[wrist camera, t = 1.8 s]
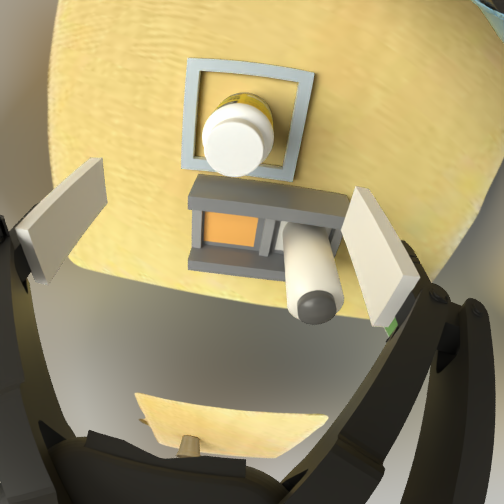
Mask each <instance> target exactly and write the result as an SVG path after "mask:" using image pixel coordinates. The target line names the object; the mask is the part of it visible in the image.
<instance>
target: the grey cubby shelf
mask: <svg viewBox="0 0 504 504" xmlns="http://www.w3.org/2000/svg"><path fill="white" fill-rule="evenodd" d="M349 205H350V202H349V200H348V198H347V196H346V195H343V194H337V193H332V192H326V191H321V190H315V189H309V188H303V187H296V186H290V185H283V184H276V183H269V182H262V181H255V180H247V179H239V178H231V177H222V176H213V175H203V174H198V176H197V178H196V180H195V182H194V185H193V187H192V189H191V191H190V193H189V195H188V209H189V210H192V248H191V251H190V255H189V258H188V270H193V271H201V272H209V273H217V274H225V275H233V276H241V277H250V278H258V279H267V280H276V281H285V282H286V278H285V264H284V251H283V238H282V232H283V228H284V226H285V225H286V224H287V222H293V223H300V224H307V225H314V226H321V227H325V228H326V232H327V235H328V239H329V242H330V246H331V249H332V253H333V257H334V258H335V255H336V252H337V250H338V247H339V244H340V242H341V239H342V236H343V235H342V232H341V228H342V226H343V223H344V220H345V217H346V214H347V211H348V208H349Z"/></svg>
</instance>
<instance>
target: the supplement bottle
mask: <svg viewBox="0 0 504 504" xmlns="http://www.w3.org/2000/svg"><path fill="white" fill-rule="evenodd" d="M202 141H203V146H204V154H205V157H206V160H207V162H208V163H209V165H210V166H211V167H212V168H213V169H214V170H215V171H217V172H218V173H220V174H222V175H225V176H229V177H240V176H244V175H247V174H249V173H251V172H252V171H254V170H255V169H256V168H257V167H258V166H259V164H261V163H262V162H263V161H264V160H265V159H266V158H267V157H268V155H269V154H270V152H271V149H272V146H273V142H274V129H273V118H272V113H271V110H270V108H269V106H268V105H267V103H266V102H265V101H264V100H263V99H261V98H260V97H258V96H256V95H254V94H250V93H237V94H234V95H231V96H229V97H228V98H226V99H225V100H224V101H223V102H222V103H221V104H220V105H219V106H218V107H217V108H216V109H215V111H214V112H213V113H212V114H211V115H210V117H209V118H208V120H207V121H206V123H205V126H204V128H203V133H202Z"/></svg>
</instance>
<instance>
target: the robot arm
mask: <svg viewBox="0 0 504 504" xmlns="http://www.w3.org/2000/svg"><path fill="white" fill-rule="evenodd" d="M471 1H472V2H473V3H474V4H476V5H477V6H478V7H479V8H480V10H481V11H482V13H483V14H484V15H485V17H486V18H487V20H488V21H489V23H490V24H491V26H492V27H493V29H494V31H495V32H496V34H497V35H498V37H499V38H500V40H501V41H502V42H503V43H504V0H471ZM106 204H107V195H106V187H105V179H104V169H103V158H89V159H88V160H87V161H86V162H85V163H83V164H82V165H81V166H80V167H79V168H77V169H76V170H75V171H74V172H73V173H71V174H70V175H69V176H68V177H67V178H66V179H65V180H63V181H62V182H61V183H60V184H59V185H58V186H57V187H56V188H55V189H53V191H51V192H50V193H49V194H48V195H47V196H46V197H45V198H44V199H43V200H42V201H41V202H39V203H37V204H36V205H34V206H33V207H32V209H30V211H29V212H28V213H26V214H25V215H24V218H22V219H21V220H20V221H19V222H18V223H17V224H16V225H15V226H14V227H13V228H12V229H11V230H10V231H8V229H7V225H6V223H5V219H4V216H2V215H0V482H1V483H0V504H365V503H366V502H367V500H368V499H369V498H370V496H371V495H372V493H373V492H374V490H375V489H376V487H377V485H378V484H379V482H380V481H381V479H382V477H383V475H384V471H385V468H384V466H383V462H384V459H385V458H386V456H387V454H388V452H389V451H390V449H391V447H392V445H393V444H394V442H395V440H396V438H397V436H398V435H399V433H400V431H401V429H402V427H403V425H404V423H405V421H406V419H407V417H408V415H409V413H410V411H411V409H412V407H413V405H414V403H415V401H416V398H417V396H418V394H419V392H420V389H421V387H422V385H423V382H424V380H425V378H426V375H427V373H428V370H429V368H430V376H429V384H428V392H427V398H426V404H425V410H424V416H423V421H422V426H421V431H420V435H419V440H418V444H417V449H416V452H415V456H414V461H413V464H412V467H411V471H410V475H409V478H408V481H407V484H406V487H405V490H404V494H403V496H402V499H401V503H400V504H484V503H485V498H486V494H487V488H488V483H489V477H490V471H491V463H492V455H493V445H494V432H495V370H494V356H493V346H492V338H491V329H490V322H489V316H488V313H487V310H486V309H485V307H484V305H483V304H482V303H481V302H479V301H477V300H476V299H473V298H468V299H467V300H466V301H465V303H464V304H463V305H462V306H461V305H458V304H455V303H453V302H451V300H450V297H449V295H448V294H447V292H446V291H445V290H444V289H443V288H441V287H440V286H438V285H436V284H433V283H431V282H430V280H429V278H428V276H427V274H426V272H425V270H424V269H423V267H422V265H421V264H420V261H419V260H418V258H416V257H417V256H416V254H415V252H414V251H413V249H412V248H411V247H410V246H409V245H408V244H407V243H406V242H405V241H403V240H400V239H399V237H398V235H397V233H396V232H395V230H394V228H393V227H392V225H391V223H390V222H389V220H388V218H387V217H386V215H385V213H384V212H383V210H382V209H381V207H380V205H379V204H378V202H377V201H376V199H375V198H374V196H373V194H372V193H371V191H370V190H369V189H367V188H363V187H358V186H355V189H354V192H353V196H352V199H351V202H350V205H349V208H348V211H347V214H346V217H345V220H344V223H343V226H342V228H341V232H342V235H343V237H344V240H345V243H346V246H347V249H348V251H349V254H350V257H351V260H352V263H353V266H354V269H355V272H356V275H357V278H358V281H359V284H360V288H361V291H362V294H363V297H364V300H365V304H366V307H367V310H368V314H369V317H370V321H371V324H372V326H373V327H389V325H390V324H391V322H392V321H393V320H394V318H396V321H397V324H398V325H397V327H396V328H395V330H394V331H393V332H392V334H391V335H390V336H389V338H388V339H387V341H386V342H387V343H386V345H385V347H384V349H383V350H382V352H381V354H380V355H379V357H378V359H377V360H376V362H375V364H374V365H373V367H372V368H371V370H370V371H369V373H368V375H367V376H366V377H365V379H364V381H363V382H362V384H361V385H360V387H359V388H358V389H357V391H356V392H355V394H354V395H353V397H352V398H351V400H350V401H349V402H348V404H347V405H346V407H345V408H344V409H343V411H342V412H341V413H340V415H339V416H338V417H337V419H336V420H335V422H334V423H333V424H332V425H331V427H330V428H329V429H328V431H327V432H326V433H325V434H324V436H323V437H322V438H321V439H320V441H319V442H318V443H317V444H316V445H315V447H314V448H313V449H312V450H311V451H310V453H309V454H308V455H307V456H306V457H305V458H304V459H303V460H302V461H301V462H300V463H299V464H298V465H297V466H296V467H295V468H294V469H293V470H292V471H291V472H290V473H289V474H288V475H287V476H286V477H285V478H284V479H283V480H282V481H281V482H280V483H279V482H278V481H277V480H275V479H274V478H273V477H271V476H270V475H268V474H266V473H264V472H262V471H260V470H257V469H255V468H252V467H248V466H246V459H231V458H220V457H211V456H198V457H186V458H171V459H163V458H159V457H156V456H154V455H152V454H150V453H148V452H146V451H144V450H142V449H140V448H138V447H136V446H134V445H132V444H130V443H128V442H126V441H124V440H121V439H118V438H114V437H110V436H107V435H103V434H100V433H97V432H94V431H91V430H89V431H88V435H87V437H76V436H75V434H74V433H73V431H72V429H71V428H70V426H69V425H68V424H67V422H66V420H65V418H64V416H63V414H62V411H61V408H60V405H59V403H58V400H57V397H56V394H55V391H54V388H53V385H52V382H51V379H50V375H49V372H48V369H47V365H46V361H45V358H44V354H43V350H42V346H41V342H40V338H39V334H38V329H37V324H36V319H35V314H34V309H33V303H32V296H31V290H30V283H29V281H28V279H27V277H28V275H29V274H30V272H31V273H32V275H33V277H34V280H35V282H37V283H41V284H46V285H49V283H50V282H51V280H52V279H53V277H54V276H55V274H56V273H57V271H58V270H59V268H60V267H61V265H62V264H63V262H64V261H65V259H66V258H67V256H68V255H69V253H70V252H71V251H72V249H73V248H74V246H75V245H76V244H77V242H78V241H79V239H80V238H81V237H82V235H83V234H84V233H85V231H86V230H87V229H88V227H89V226H90V225H91V223H92V222H93V221H94V219H95V218H96V217H97V216H98V214H99V213H100V212H101V210H102V209H103V208H104V207H105V206H106ZM430 365H431V367H430Z"/></svg>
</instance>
